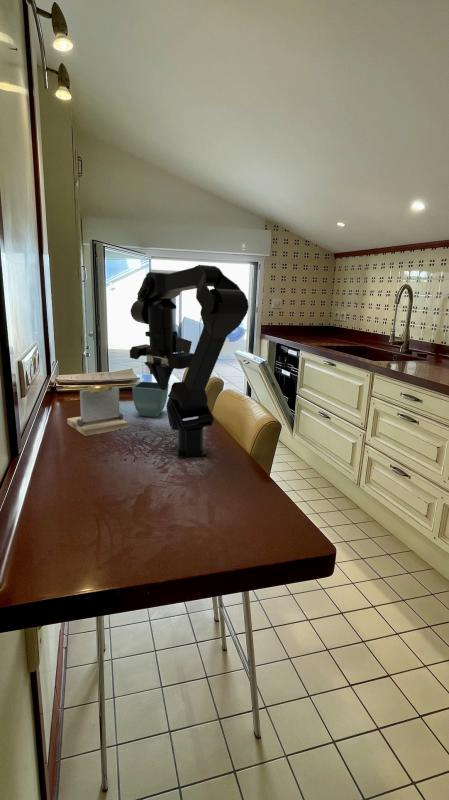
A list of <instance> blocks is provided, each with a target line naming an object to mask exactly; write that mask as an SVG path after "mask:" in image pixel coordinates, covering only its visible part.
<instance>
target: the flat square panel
mask: <svg viewBox="0 0 449 800" xmlns="http://www.w3.org/2000/svg"><path fill="white" fill-rule="evenodd" d="M79 403H80V404H79V405H80V416H81V420H82V421H83V425H85V424H91V423H97V422H103V421H109V420H115V419H119V413H120V387H119V386H112V384H105V385H104V384H103V385H96V386H95V385H93V386H88V387H87V389H82V390H79Z"/></svg>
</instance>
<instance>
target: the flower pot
mask: <svg viewBox="0 0 449 800" xmlns="http://www.w3.org/2000/svg"><path fill="white" fill-rule="evenodd" d="M169 384H170V383H168V385H167V389H166V390H161V389H160V387H159V385H158V383H157V381H156V382H152V381H139V382H138V383H136V384H135V385H133V386H132V388H131V389H132V391H131V392H132V397H133V405H134V408H135V410H136V411H137V413H138V414H139V416H140V417H141V416H142V417H151V418H158V416H159V415H161V413H162V412H163V410H164V408H165V406H166V404H167V401H168V395H169V394H168V393H169V387H170V385H169Z"/></svg>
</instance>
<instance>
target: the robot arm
mask: <svg viewBox="0 0 449 800" xmlns="http://www.w3.org/2000/svg"><path fill="white" fill-rule="evenodd" d="M209 287H211V289H210V288H209ZM190 290H196V291H195V293H196V294H195V299H196V300H197V302H198V303H199V305H200V307H201V308H200V309H201V310H200V317H201V320H202V324H203V328H202V330H201V333H200V336H199V339H198V341H197V344H196V347H195V349H194V353H192V352H191V349H192V348H191V347H192V344H193V341H192V340H188V339H185V338H183V337H182V338H181V337H179V335H178V334H179V333H178V330H177V331H176V330H174V320H173V310H177V305H176V304H175V302H173V301H172V299H174V298H177V297H178V296H180V295H181V292H184V291H185V292H186V291H190ZM249 308H250V307H249V300H248V298H247V296H246V294H245V292H244V291H243V290H242V289H241V287H239V285H238V284H237V283H235V282H234V281H233V280H231V279H230V278H228V277H227V276H226V275H225V274H224V272H223V271H222V270H221V269H220V268H219V267H217V266H216V265H204V264H198V265H195V266H194V267H191V268H186V269H182V270H178V271H174V272H170V273H167V272H153V271H149V272H147V273H146V274H145V277H144V279H143V281H142V284H141V286H140V288H139V290H138V291H137V297H136V301H135V302H133V304H132V305H131V308H130V316H131V317H132V319H133V320H134V321H135V322H137V323H141V324H145V325H148V330H147V331H145V334H144V335H145V337H148V338H149V344H147V343H145V344H140V345H134V346H132V347H131V348H130V350H129V358H130V359H134V360H139V359H140V357H146V361H145V362H144V365H145V366H147V368H148V370H149V371H150V373H151V374H152V376H153V378H154V379H155V381H156V383H158V385H159V387H160V389H161V390H166V389H167V385H168V384H169V381H170V379H171V376H172V373H173V371H174V369H176V370H184V369H187V372H186V374H185V377H184V380H183V381H179V382H178V381H175V382H173V383H172V384H171V387H170V392H168V393H169V394H167V401H166V405H165V406H166V411H167V418H168V423H169V426H170V428H171V430H172V431H177V445H176V444H175V445H174V450H175V452H176V454H177V457H178V458H189V457H206V456H207V455H208V452H207V451H206V448H205V447H204V433H205V432H204V427H212V426H213V423H214V419H215V418H214V416H213V413H212V411H211V409H210V407H209V405H208V402H209V398H208V395H207V391H206V389H207V388H206V387H207V385H208V383H209V381H210V378H211V376H212V373H213V371H214V369H215V366H216V363H217V361H218V359H219V356H220V354H221V351H222V349H223V347H224V344H225V341H226V339H227V337H228V336H229V335H230V334H231V333H233V332H234V331H235V330H236V329H237V328H239V327H240V326H241V324H242V322H243V321H244V319H245V318H246V316H247V314H248V311H249ZM196 417H197V418H196Z"/></svg>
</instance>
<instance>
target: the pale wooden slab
mask: <svg viewBox="0 0 449 800" xmlns="http://www.w3.org/2000/svg"><path fill="white" fill-rule="evenodd" d="M66 423H67V424H68V426H70V427H71V428H73V429H74V430H76V431H77V432H79V433H80V434H82V435H83V436H85V437H87V436H93V435H100V434H103V433H104V434H105V433H110V432H114V431H115V430H116V431H120V430H119V429H121V430H125V429H124V428H126V429H129V427H130V426H129V421H126V420H125V419H124V414H123V413H121V412H119V419H115V420H109V421H103V422H97V423H91V424H85V425H83V421H82V420H81V415H80V416H75V417H69V418H68V417H67V421H66Z"/></svg>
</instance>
